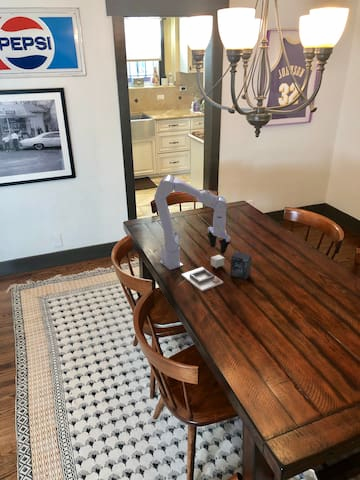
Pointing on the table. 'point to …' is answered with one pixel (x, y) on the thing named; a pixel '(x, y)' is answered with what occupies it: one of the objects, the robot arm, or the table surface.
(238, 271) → the box
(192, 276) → the socket plate
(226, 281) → the table surface
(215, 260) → the plug
